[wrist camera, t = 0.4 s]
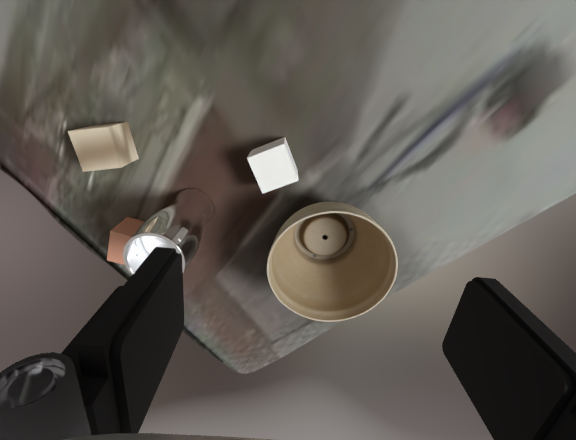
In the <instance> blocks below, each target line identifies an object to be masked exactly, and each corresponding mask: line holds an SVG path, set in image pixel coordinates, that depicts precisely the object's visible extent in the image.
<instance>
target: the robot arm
mask: <svg viewBox="0 0 576 440" xmlns="http://www.w3.org/2000/svg"><path fill="white" fill-rule="evenodd" d="M183 326H184V300H183V269H182V255H181V254H180V253H177V252H176V249H175V248H165V247H155V248H154V249H153V251H152V252H151V253H150V254H149V255H148V257H147V258H146V259H145V260H144V262H143V263H142V264H141V265H140V266H139V268H138V269H137V270H136V271H135V272H134V274H133V275H132V276H131V277H130V279H129V280H128V281H127V282H126V283H125V285H124V286H119V287H118V288H117V289H116V290H115V291H114V292H113V293H112V294H111V295H110V297H109V298H108V299H107V300H106V301H105V302H104V304H103V305H102V306H101V307H100V308H99V309H98V311H97V312H96V313H95V314H94V315H93V316H92V318H91V319H90V320H89V321H88V323H87V324H86V325H85V326H84V327H83V328H82V329H81V331H80V332H79V333H78V334H77V335H76V337H75V338H74V339H73V340H72V341H71V343H70V344H69V345H68V346H67V347H66V348H65V349H64V351H63V352H62V353H54V352H51V353H41V354H37V355H33V356H29V357H27V358H24V359H22V360H20V361H18V362H15V363H14V364H12V365H11V366H9V367H7V368H6V369H4V370H3V371H1V372H0V440H270V439H254V438H253V439H252V438H238V437H222V436H200V435H178V434H155V433H154V434H153V433H145V434H144V433H138V432H139V429H140V427H141V425H142V423H143V420H144V418H145V416H146V414H147V411H148V409H149V406H150V404H151V402H152V400H153V397H154V395H155V393H156V390H157V388H158V386H159V384H160V381H161V379H162V377H163V374H164V372H165V370H166V367H167V365H168V362H169V360H170V358H171V356H172V353H173V351H174V349H175V347H176V344H177V342H178V340H179V337H180V335H181V332H182V330H183ZM442 347H443V352H444V355H445V356H446V358H447V360H448V361H449V363H450V365H451V367H452V368H453V370H454V372H455V373H456V375H457V377H458V379H459V380H460V382H461V384H462V386H463V387H464V389H465V391H466V392H467V394H468V396H469V397H470V399H471V401H472V403H473V404H474V406H475V408H476V409H477V411H478V413H479V415H480V416H481V418H482V420H483V422H484V423H485V425H486V427H487V429H488V430H489V432H490V434H491V435H492V437H493V439H494V440H576V353H575V352H574V351H573V350H572V349H570V347H569V346H567V345H566V344H565V343H564V342H563V341H562V340H561V339H560V338H559V337H558V336H557V335H556V334H555V333H553V332H552V331H551V330H550V329H549V328H548V327H547V326H546V325H545V324H544V323H543V322H542V321H541V320H539V319H538V318H537V317H536V316H535V315H534V314H533V313H532V312H531V311H530V310H529V309H528V308H526V307H525V306H524V305H523V304H522V303H521V302H520V301H519V300H518V299H517V298H516V297H515V296H514V295H513V294H511V293H510V292H509V291H508V290H507V289H506V288H505V287H504V286H503V285H502V284H500V282H499V281H497V280H496V279H491V278H480V277H476V278H474V279H472V281H469V282H468V283H467V284H466V287H465V289H464V292H463V294H462V296H461V299H460V302H459V304H458V306H457V309H456V311H455V314H454V316H453V319H452V321H451V324H450V326H449V328H448V331H447V334H446V336H445V338H444V341H443V345H442Z"/></svg>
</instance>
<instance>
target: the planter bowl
mask: <svg viewBox="0 0 576 440" xmlns="http://www.w3.org/2000/svg"><path fill="white" fill-rule="evenodd" d="M323 235H326V236H327V239H323ZM397 269H398V259H397V253H396V250H395V247H394V244H393V242H392V241H391V239H390V237H389V236H388V234H387V233H386V232H385V231H384V229H383V228H382V227H381V226H380V225H378V224H377V223H376V222H375V221H374V220H373V219H372V218H371V217H370V216H369V215H367V214H366V213H364V212H363V211H361V210H360V209H358V208H356V207H354V206H351V205H348V204H345V203H340V202H319V203H314V204H311V205H308V206H306V207H304V208H302V209H300V210H299V211H297V212H296V213H294V214H293V215H292V216H291V217H290V218H289V219H288V220H287V221H286V222H285V223H284V224H283V226H282V227H281V228H280V230H279V232H278V233H277V235H276V237H275V240H274V242H273V244H272V247H271V249H270V252H269V255H268V260H267V277H268V281H269V284H270V287H271V289H272V291H273V293H274V294H275V296H276V297H277V298H278V300H279V301H280V302H281V303H282V304H283V305H284V306H286V307H287V308H288V309H290V310H291V311H293V312H294V313H296V314H298V315H300V316H303V317H306V318H308V319H312V320H316V321H325V322H334V321H343V320H347V319H351V318H354V317H357V316H359V315H362V314H364V313H366V312H367V311H369V310H371V309H372V308H374V307H375V306H376V305H378V304H379V303H380V302H381V301H382V300H383V299H384V298H385V296H386V295H387V294H388V292H389V291H390V289H391V288H392V286H393V284H394V281H395V279H396V275H397Z"/></svg>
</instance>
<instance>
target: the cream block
mask: <svg viewBox="0 0 576 440" xmlns="http://www.w3.org/2000/svg"><path fill="white" fill-rule="evenodd" d="M247 160H248V162H249V164H250V167H251V169H252V171H253V173H254V176H255V178H256V180H257V182H258V185H259V187H260V189H261V191H262V194H263V193H266V192H269V191H272V190H274V189H277V188H280V187H282V186H285V185H288V184H291V183H293V182H296V181H299V180H298V170H297V167H296V165H295V162H294V159H293V157H292V154H291V151H290V149H289V146H288V144H287V141H286V138H285V137H283V138H281V139H278V140H276V141H273V142H271V143H268V144H265V145H263V146H260V147H258V148H255V149H253V150H251V152H250V153H249V155H248V157H247Z"/></svg>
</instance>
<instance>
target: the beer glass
mask: <svg viewBox="0 0 576 440" xmlns="http://www.w3.org/2000/svg"><path fill="white" fill-rule="evenodd" d="M213 214H214V205H213V202H212V200H211V199H210V198H209V196H208V195H207V194H205V193H204V192H202V191H200V190H197V189H185V190H183V191H181V192H179V193H178V194H177V195H176V197H175V198H174V200H173V203H172V205H170V206H168V207H166V208H164V209H162V210H160V211H158V212H157V213H155V214H153V215H152V216H151V217H149V218H148V219H147V220H146V221H145V222H144V223H143V224H142V225H141V226H140V227H139V228H138V229H137V231H136V232H135V233H134V234H133V236H132V237H131V238H130V239H129V240H128V242H127V243H126V244H125V246H124V249H123V260H124V263H125V266H126V267H127V269H128V270H129V272H130V273H131V274H132V275H133V274H134V272H135V271H136V270H137V269H138V268H139V266H140V265H141V264H142V263H143V262H144V260H145V259H146V258H147V257H148V255H149V254H150V253H151V252H152V251H153V249H154V248H155V247H165V248H175V249H176V252H177V253H180V254H181V255H182V269H183V272H184V271H185V270H186V268H187V267H188V265H189V264H190V263H191V261H192V259H193V258H194V256H195V254H196V252H197V250H198V248H199V245H200V242H201V238H202V233H203V227H204V226H205V225H206V224H207V223H208V222H209V221H210V220H211V219H212V217H213Z"/></svg>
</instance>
